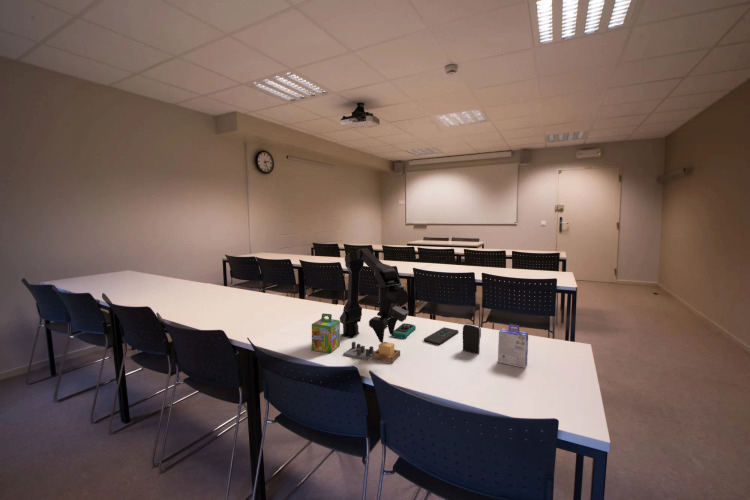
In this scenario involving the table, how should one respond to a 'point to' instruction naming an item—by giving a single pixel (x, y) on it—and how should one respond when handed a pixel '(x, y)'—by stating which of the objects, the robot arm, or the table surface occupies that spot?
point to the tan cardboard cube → (386, 349)
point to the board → (359, 352)
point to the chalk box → (326, 334)
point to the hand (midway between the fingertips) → (386, 338)
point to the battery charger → (471, 338)
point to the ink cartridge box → (513, 346)
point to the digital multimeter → (404, 331)
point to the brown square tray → (386, 358)
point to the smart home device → (441, 336)
